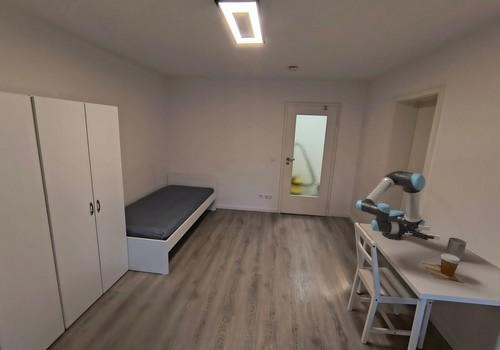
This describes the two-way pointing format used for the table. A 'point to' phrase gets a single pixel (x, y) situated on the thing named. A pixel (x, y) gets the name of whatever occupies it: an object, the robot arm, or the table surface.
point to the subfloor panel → (436, 272)
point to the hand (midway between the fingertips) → (434, 233)
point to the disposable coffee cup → (449, 264)
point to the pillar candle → (456, 247)
